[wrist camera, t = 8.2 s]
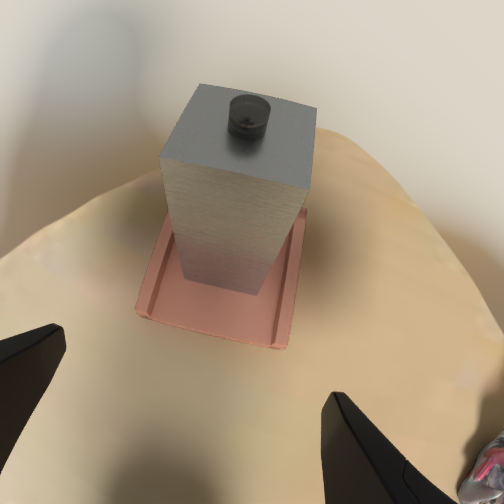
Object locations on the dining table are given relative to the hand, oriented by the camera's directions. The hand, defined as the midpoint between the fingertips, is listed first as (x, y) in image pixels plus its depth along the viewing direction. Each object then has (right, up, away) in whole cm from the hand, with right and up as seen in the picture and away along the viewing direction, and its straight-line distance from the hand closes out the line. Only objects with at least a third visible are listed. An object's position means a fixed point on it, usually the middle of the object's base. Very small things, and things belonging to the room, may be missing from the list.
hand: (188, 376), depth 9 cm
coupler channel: (0, +3, +13) cm, 14 cm away
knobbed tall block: (0, +3, +13) cm, 13 cm away
